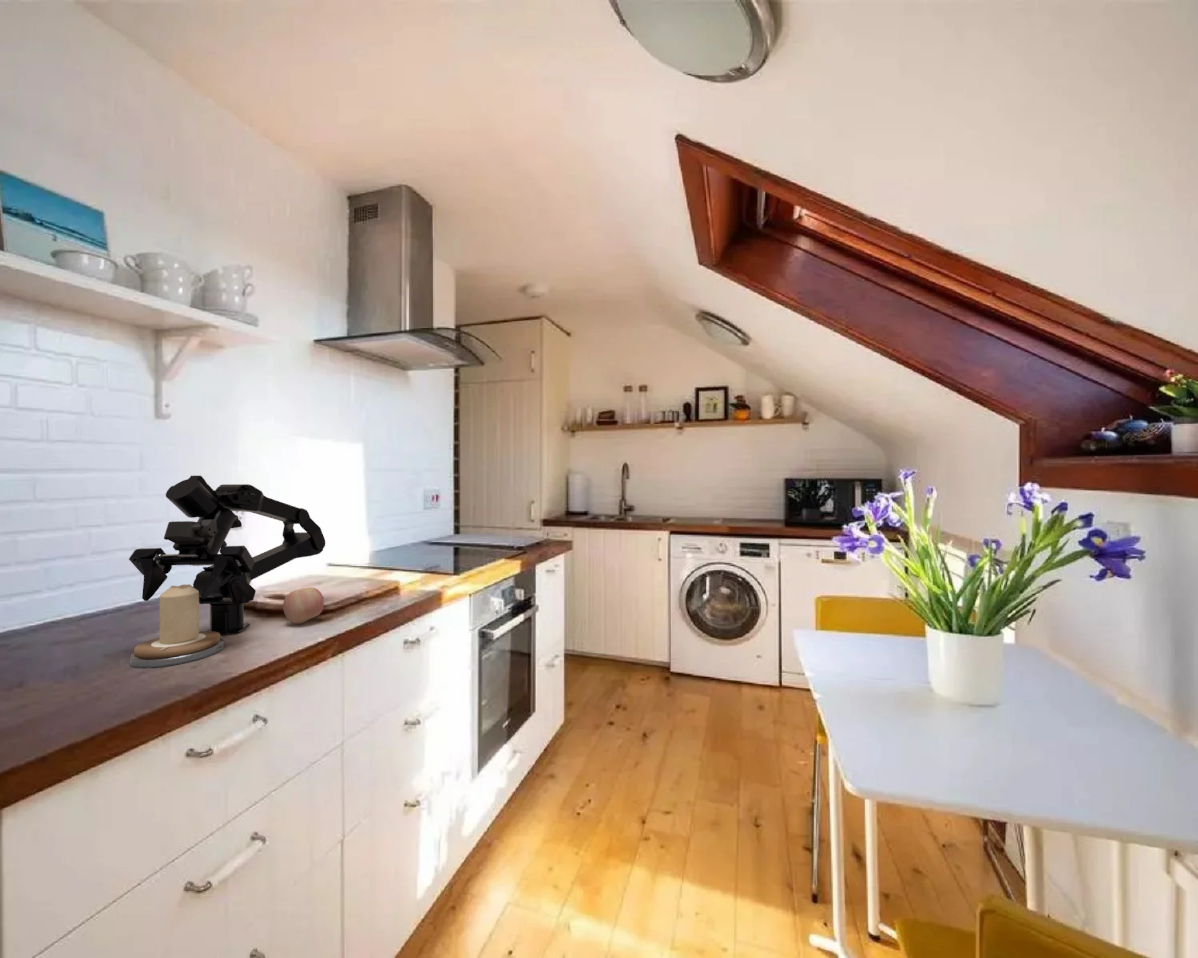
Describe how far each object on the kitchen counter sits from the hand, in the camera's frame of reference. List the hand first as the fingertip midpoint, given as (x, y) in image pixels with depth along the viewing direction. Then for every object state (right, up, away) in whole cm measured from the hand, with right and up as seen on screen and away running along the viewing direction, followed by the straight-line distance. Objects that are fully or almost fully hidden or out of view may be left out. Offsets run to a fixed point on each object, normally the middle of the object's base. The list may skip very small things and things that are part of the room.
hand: (173, 598), depth 88 cm
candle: (0, -8, +2) cm, 8 cm away
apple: (+11, -11, +21) cm, 26 cm away
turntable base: (0, -11, +1) cm, 11 cm away
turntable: (0, -9, +1) cm, 9 cm away
